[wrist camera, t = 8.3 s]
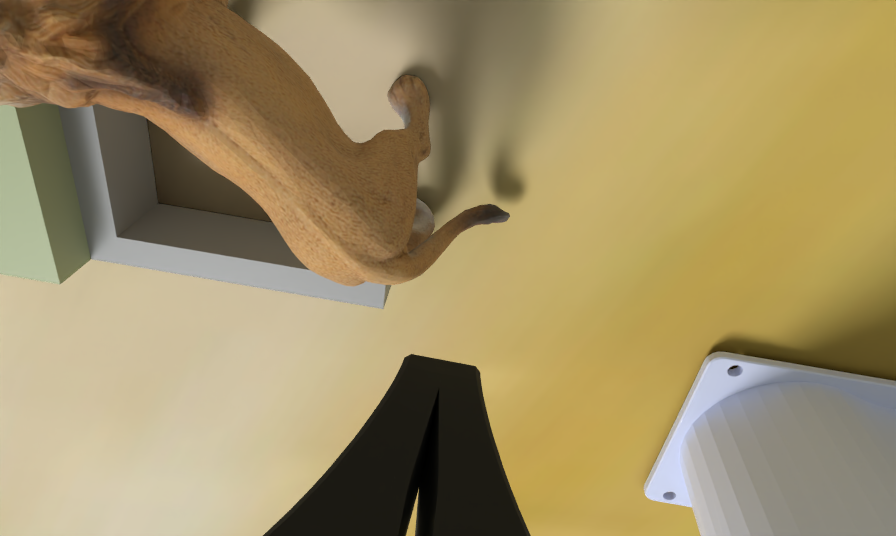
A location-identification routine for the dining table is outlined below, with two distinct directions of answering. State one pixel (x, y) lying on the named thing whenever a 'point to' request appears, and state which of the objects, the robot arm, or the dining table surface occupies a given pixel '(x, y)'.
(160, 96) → the lion figurine
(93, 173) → the l-rail base plate
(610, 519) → the dining table surface
